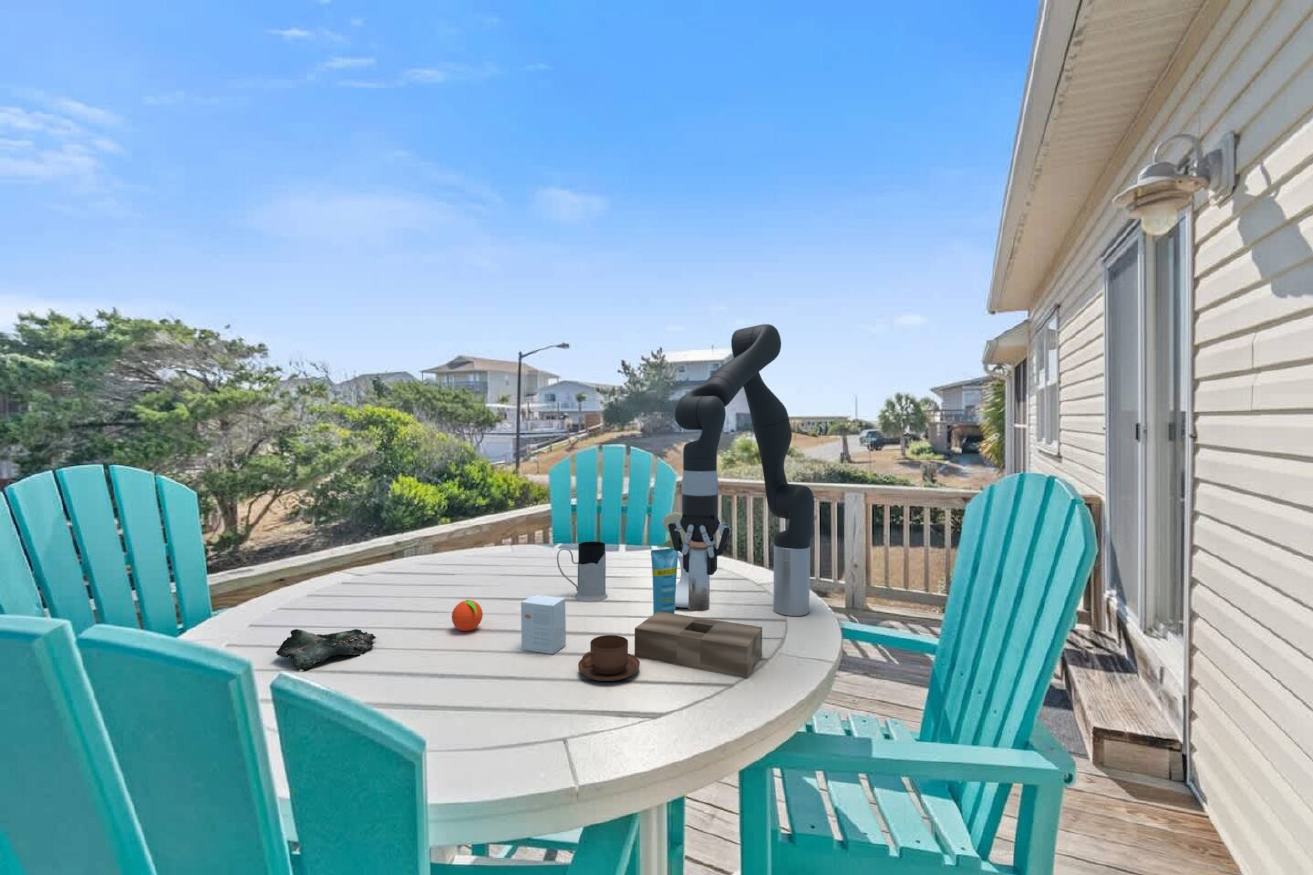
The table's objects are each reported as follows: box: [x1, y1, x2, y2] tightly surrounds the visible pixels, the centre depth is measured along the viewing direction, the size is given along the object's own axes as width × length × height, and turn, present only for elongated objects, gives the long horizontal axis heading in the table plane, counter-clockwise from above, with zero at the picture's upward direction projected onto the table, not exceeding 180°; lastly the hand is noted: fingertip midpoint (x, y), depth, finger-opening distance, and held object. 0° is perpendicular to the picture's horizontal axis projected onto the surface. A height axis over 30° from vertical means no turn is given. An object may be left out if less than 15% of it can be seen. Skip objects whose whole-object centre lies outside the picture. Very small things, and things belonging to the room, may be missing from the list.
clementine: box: [451, 599, 484, 632], centre depth 132 cm, size 8×7×7 cm
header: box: [634, 611, 763, 679], centre depth 118 cm, size 12×24×6 cm, turn 66°
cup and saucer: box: [577, 634, 641, 682], centre depth 110 cm, size 12×12×6 cm
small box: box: [520, 594, 567, 655], centre depth 122 cm, size 8×6×10 cm
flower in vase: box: [661, 511, 689, 609], centre depth 153 cm, size 13×11×25 cm
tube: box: [650, 547, 679, 615], centre depth 134 cm, size 7×5×19 cm, turn 123°
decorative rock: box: [275, 628, 377, 673], centre depth 120 cm, size 19×6×15 cm
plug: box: [687, 540, 711, 612], centre depth 118 cm, size 5×5×14 cm
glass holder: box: [556, 541, 608, 603], centre depth 159 cm, size 9×14×15 cm, turn 89°
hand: (699, 572), depth 118 cm, fingers closed on plug, 4 cm apart
